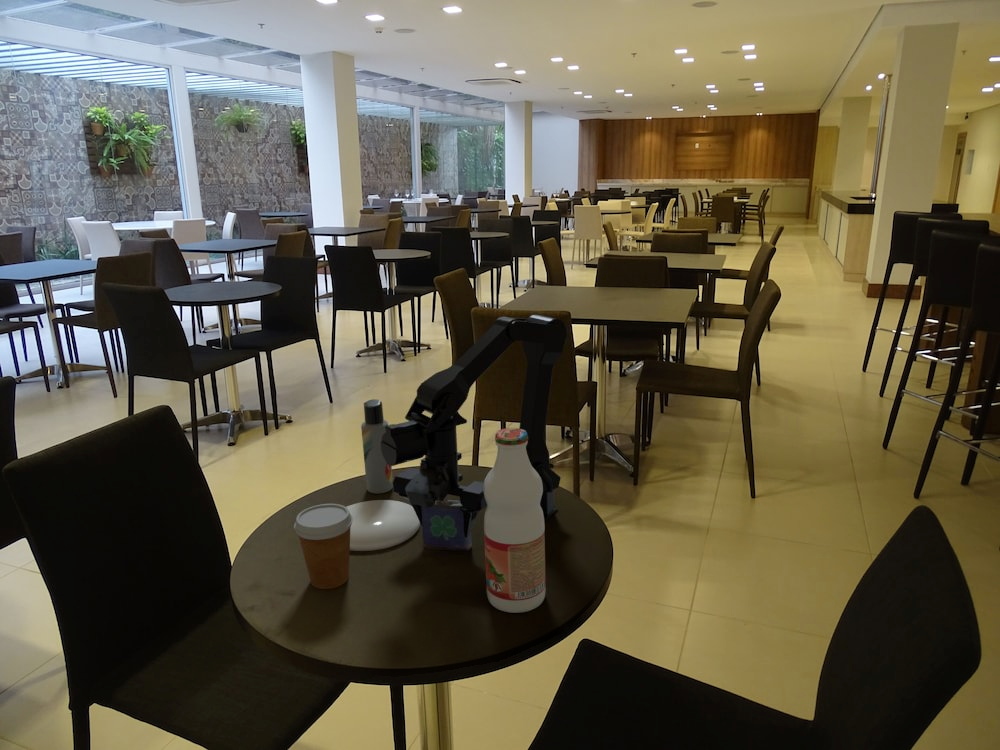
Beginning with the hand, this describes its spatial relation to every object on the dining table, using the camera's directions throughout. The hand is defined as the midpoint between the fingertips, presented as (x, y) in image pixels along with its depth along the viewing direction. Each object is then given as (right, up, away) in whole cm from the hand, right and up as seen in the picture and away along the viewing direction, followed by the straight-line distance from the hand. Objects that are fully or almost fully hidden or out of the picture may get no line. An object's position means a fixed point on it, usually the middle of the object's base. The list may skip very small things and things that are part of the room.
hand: (445, 531), depth 130 cm
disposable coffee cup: (-19, -6, -9) cm, 22 cm away
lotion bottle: (-16, +3, +26) cm, 31 cm away
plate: (-15, -1, +9) cm, 17 cm away
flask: (0, -3, +1) cm, 3 cm away
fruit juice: (+13, -7, -16) cm, 21 cm away
